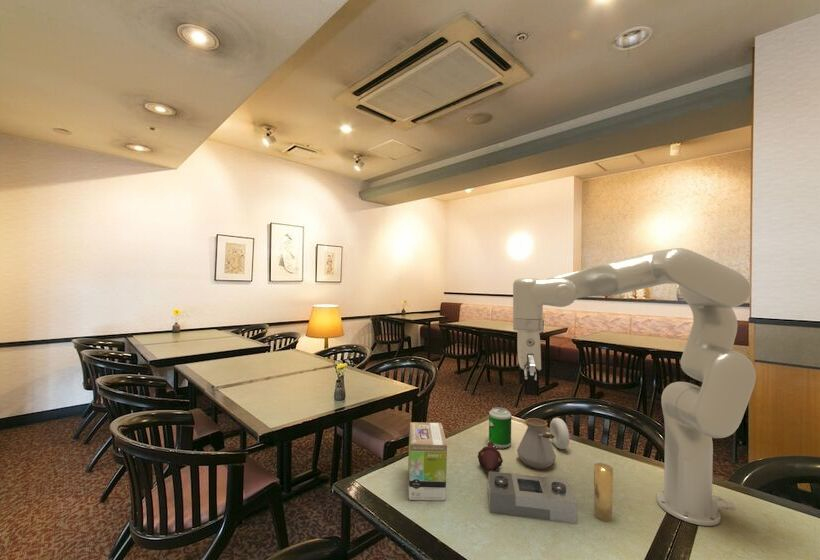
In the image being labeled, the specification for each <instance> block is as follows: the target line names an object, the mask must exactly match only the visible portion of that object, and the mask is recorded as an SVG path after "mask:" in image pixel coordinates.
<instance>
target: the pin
mask: <svg viewBox="0 0 820 560" xmlns="http://www.w3.org/2000/svg"><path fill="white" fill-rule="evenodd" d="M593 470H594V471H593V517H594V518H596V519H597V520H599V521H601V522H604V523H611V522H612V521H613V503H614V502H613V501H614V498H613V495H614V493H613V491H614V489H613V487H614V485H613V483H614V480H613V479H614V477H613V476H614V468H613V467H612V466H611V465H609V464H607V463H601V462H597V463H594V465H593Z"/></svg>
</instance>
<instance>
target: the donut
mask: <svg viewBox="0 0 820 560" xmlns="http://www.w3.org/2000/svg"><path fill="white" fill-rule="evenodd" d="M569 431H570V430H569V428H568V426H567V423H566V422H565V421H564V420H563V419H562V418H559V417H554V418H552V420H551V421H550V424H549V434H552V435H554V438H552V439H551V442H552V444H553V443H554V444H553V445H554V446H555V447H556V448H558V449H560V450H565V449H567V448H568V447H569V445H570V438H571V437H570V432H569ZM555 437H556V438H555ZM557 440H558V441H557ZM556 442H557V443H556Z"/></svg>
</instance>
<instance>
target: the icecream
mask: <svg viewBox="0 0 820 560" xmlns="http://www.w3.org/2000/svg"><path fill="white" fill-rule="evenodd" d="M486 445H487V446H483V447H482V448H481V450H480V451H478V455H477V458H478V459H477V460H478V463H479V465H480V466H481V467H483V469H485V470H486V471H492V470H495V471H497V470H498V469H499V468H500V467H502V465H503V462H504V460H503V458H502V454H501V452H500V451H499V450H498V448H495V447H493V446H494V443H493V442H492V441H489V440H488V442H487V444H486Z"/></svg>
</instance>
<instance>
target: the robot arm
mask: <svg viewBox="0 0 820 560" xmlns="http://www.w3.org/2000/svg"><path fill="white" fill-rule="evenodd" d="M664 284H665V285H666V284H667V285H668V284H673V285H676V284H677V285H678V289H679V293H680V296H681V297H682V299H683V300H684V301H685V302H686V303H687V305H688V306H689V308H690V310H691V313H692V317H693V320H692V326H691V328H690V333H689V336H688V338H687V341H686V344H685V346H684V350H683V352H682V355H681V358H680V368H681V371H683V372H684V373H685V375H687V376H689V377H690V378H692V379H694V380H696V381H699V382H701V383H702V384H701V387H700V386H699V385H697V384H694V383H691V382H687V381H675V382H672V383H671V382H670V383H669V384H668V385H666V387H665V388H664V389H663V391H662V393H661V399H660V400H661V404H660V405H661V408H662V409H661V410H662V415H663V421H664V472H663V473H664V477H663V478H664V483H663V487H664V489H663V491H662V490H661V491H659V492H658V493H657V494H656V502H657V504H658V505H659V507H660V508H662V509H663V511H665V513H666V512H667V513H668V514H670V515H672V516H673V517H675V518H676V519H679V520H681V521H684V522H686V523H689V524H692V525H698V526H702V527H703V526H706V527H711V526H713V527H714V526H716V525H718V524H719V523H721V514H720V512H719V511H721V510H729V511H736V507H737V506H736V504H735V502H733V501H732V500H725V499H722V496H721V495H715V494H714V495H713V463H714V462H713V460H714V459H713V455H714V446H713V445H714V443H713V439H724V438H727V437H730V436H731V435H733V434H734V433H735V432H736V431H737V429H738V428H739V427H740V425H741V423H742V420H743V418H744V415H745V412H746V410H747V407H748V405H749V402H750V399H751V396H752V393H753V391H754V388H755V385H756V379H757V378H756V377H757V375H756V369H755V365H754V364H753V362H752V361H751V359H749V358H748V357H747V356H746V354H743V353H741V352H740V351H737V350H734V349H733V348H734V344H735V340H736V336H737V333H738V325H739V324H738V320H737V316H736V315H737V314H736V313H735V311H734V309H733V308H736V307H739V306H741V305H743V304H744V303H746V302H747V301H748V300H749V298H750V297H751V293H752V286H751V283H750V281H749V280H748V278H747V277H745V276H744V275H743V274H741V272H739V271H737V270H734V269H733V268H730V267H728V266H726V265H724V264H722V263H719V262H718V261H715V260H713V259H710V257H707V256H705V255H702V254H701V253H697V252H696V251H693V250H690V249H686V248H684V247H683V248H681V247H675V248H670V249H669V248H668V249H662V250H655V251H651V252H648V253H644V254H640V255H635V256H631V257H628V258H623V259H620V260H619V259H618V260H615V261H609V262H606V263H603V264H599V265H596V266H595V265H594V266H593V267H589V268H585V269H581V270H577V271H574V272H573V271H572V272H569V273H565V274H561V275H558V276H557V275H556V276H552V277H548V278H546V279H539V278H517V279H515V280H514V281H513V283H512V295H513V296H512V330H513V331H515V332H517V333H516V334H517V338H516V340H517V342H516V343H517V346H516V347H517V362H518V364H519V369H518V371H519V373H518V383H519V384H520V385H523V394H524V395H525V396H537V395H538V379H537V377H538V376H537V371H541V370H542V355H541V354H542V351H541V350H542V349H541V337H540V336H541V335H540V333H541V332H543V329H544V327H543V325H544V324H543V323H544V321H543V317H544V316H543V315H544V314H543V313H544V309H543V308H544V306H549V307H550V306H551V307H557V308H563V307H567V306H570V305H571V304H573V303H574V302H575V300H576V299H582V298H587V297H589V298H590V297H600V296H601V297H602V296H603V297H605V296H617V295H623V294H626V293H630V292H634V291H639V290H643V289H646V288H652V287H655V286H660V285H664Z"/></svg>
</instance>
